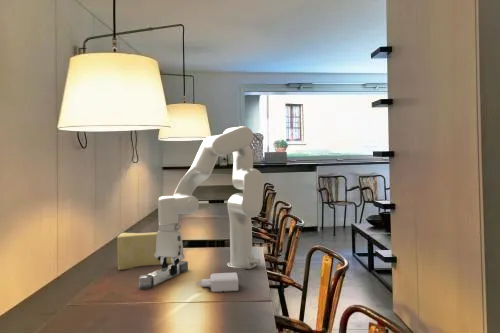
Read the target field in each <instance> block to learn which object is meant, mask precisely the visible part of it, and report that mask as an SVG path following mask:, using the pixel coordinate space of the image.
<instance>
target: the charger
mask: <svg viewBox="0 0 500 333" xmlns="http://www.w3.org/2000/svg"><path fill="white" fill-rule="evenodd" d="M209 276H210V278H204V279H203V278H202V279H201V281H196V282H195V285H201V288H210V291H211V292H213V293H219V292H221V293H222V292H223V291H224V292H238V291H239V277H238V273H237V271H236V272H219V273H218V272H217V273H215V272H214V273H211V274H210V275H209Z"/></svg>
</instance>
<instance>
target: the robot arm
mask: <svg viewBox="0 0 500 333" xmlns="http://www.w3.org/2000/svg"><path fill="white" fill-rule="evenodd" d="M253 140H254V133H253V131H252V129H251V128H250V127H248V126H245V125H241V126H233V127H228V128H226V129H225V130H224V131H223V132H222V134H217V135H209V136H207V137H205V138H204V139H203V141H202V142H201V145H200V146H199V149H198V151H197V153H196V155H195V158H194V160H193V162H192V164H191V166H190V168H189V169H188V170H187V172H186V173H185V175H184V176H183V177H181V179H180V181H179V182H178V184H177V186H176V188H175V190H174V193H173V195H162V196H160V197H159V198H158V201H157V206H158V207H157V209H158V213H157V214H158V231H157V232H158V233H157V238H156V252H155V254H154V256H155V257H156V258H158V260H159V261H160V265H161V269H162V268H164V267H167V266H169V264H168V263H167V257H171V264H170V265H171V276H173V275H175V276H177V275H176V274H177V264H178V263H179V262H180V261H183V260H184V259H185V255H184V246H183V244H184V243H183V237H182V233H181V230H179V229H182V228H181V225H179V214H181V215H182V214H184V215H190V214H194V213H196V212H197V211H198V209H199V207H200V202H199V199H198V198H197V197H196V196H194V195H193V194H194V191H195V190H196V188H197V187H198V186H199V185H200V184H202V183H203V182H205V181H206V180H208V178H209V177H211V174H212V172H213V171H214V169H215V168H214V167H215V166H216V163H217V161H218V159H219V157H223V156H227V155H230V154H232V158H233V159H232V161H233V166H232V174H231V175H232V176H231V177H232V179H231V180H232V181H231V182H232V186H233V187H234V188H235V189H237V190H240V191H242V192H236V193H234V194H231V196H230V197H229V198H228V200H227V213H228V219H229V220H228V221H229V250H230V251H229V254H230V255H229V258H230V261H229V262H227V263H226V266H228V267H231V268H235V269H237V268H240V269H241V268H242V269H243V268H244V269H245V268H246V270H250V269H254V268H256V266H257V265H261V263H262V260H261V258H256V257H255V255H254V254H253V224H252V218H255V217H257V216H258V215H260V213H261V211H262V208H263V201H264V190H265V189H264V188H265V180H264V176H263V174H262V172H261V171H260V170H258V169H257V168H254V155H253V150H252V149H251V148H252V147H251V146H250V145H251V144H252V143H253ZM173 277H174V276H173Z"/></svg>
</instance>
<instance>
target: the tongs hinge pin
mask: <svg viewBox="0 0 500 333" xmlns="http://www.w3.org/2000/svg"><path fill="white" fill-rule="evenodd" d="M138 289H139V290H149V289H152V276H151V275H147V274H141V275H140V276H138Z"/></svg>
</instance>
